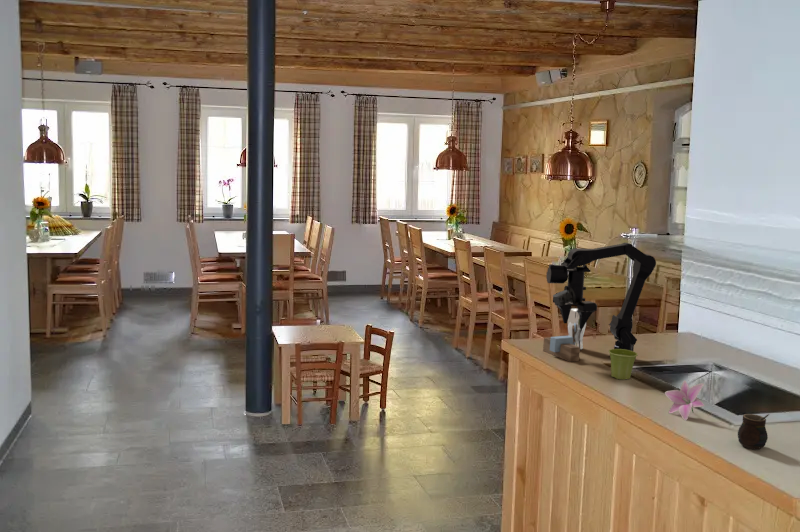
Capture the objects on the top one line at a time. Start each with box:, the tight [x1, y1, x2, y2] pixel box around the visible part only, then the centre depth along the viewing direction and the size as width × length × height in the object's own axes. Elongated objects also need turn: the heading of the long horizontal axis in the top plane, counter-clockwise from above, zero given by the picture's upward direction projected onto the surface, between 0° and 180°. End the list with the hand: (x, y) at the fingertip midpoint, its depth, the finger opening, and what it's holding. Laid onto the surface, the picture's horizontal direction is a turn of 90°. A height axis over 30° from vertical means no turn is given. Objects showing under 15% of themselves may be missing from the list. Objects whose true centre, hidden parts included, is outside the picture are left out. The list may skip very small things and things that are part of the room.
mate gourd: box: [737, 413, 770, 451], centre depth 209 cm, size 7×8×10 cm
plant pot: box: [608, 348, 639, 381], centre depth 270 cm, size 9×9×9 cm
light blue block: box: [550, 335, 573, 352], centre depth 296 cm, size 8×3×5 cm, turn 117°
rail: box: [542, 336, 581, 363], centre depth 296 cm, size 4×16×5 cm, turn 27°
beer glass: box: [567, 307, 587, 351], centre depth 309 cm, size 7×7×15 cm
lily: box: [664, 380, 706, 421], centre depth 234 cm, size 12×12×10 cm
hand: (573, 325), depth 294 cm, fingers open, 9 cm apart
